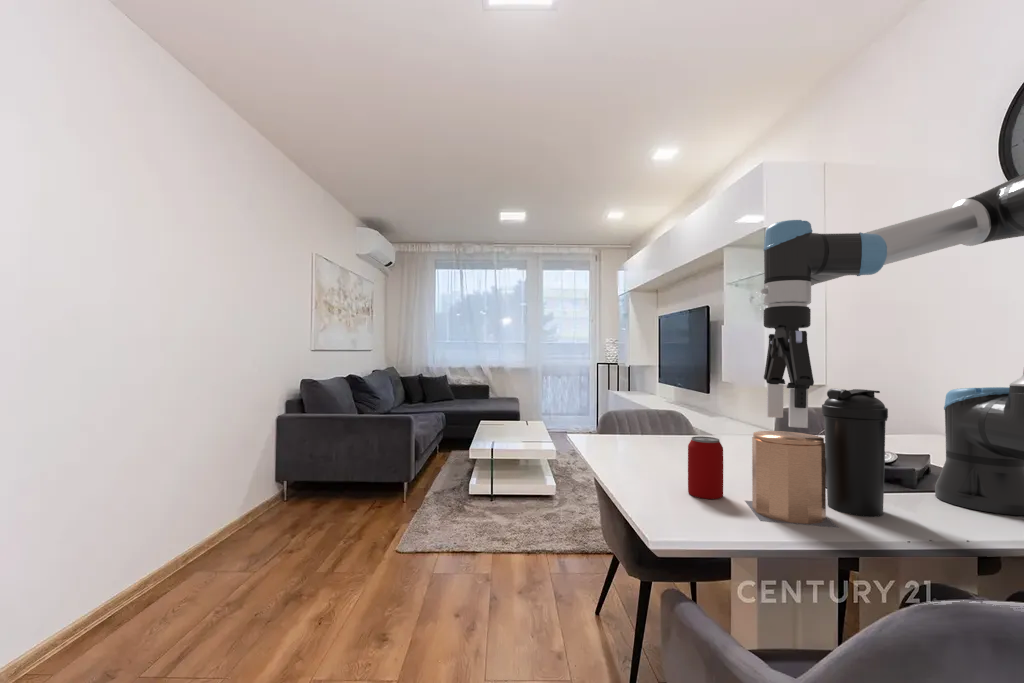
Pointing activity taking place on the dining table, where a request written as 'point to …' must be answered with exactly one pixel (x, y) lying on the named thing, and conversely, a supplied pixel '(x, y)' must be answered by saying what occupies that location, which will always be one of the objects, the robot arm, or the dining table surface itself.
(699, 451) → the beverage can
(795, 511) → the copper oval canister
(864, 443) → the water bottle
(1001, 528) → the dining table surface
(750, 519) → the dining table surface
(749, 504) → the mat
